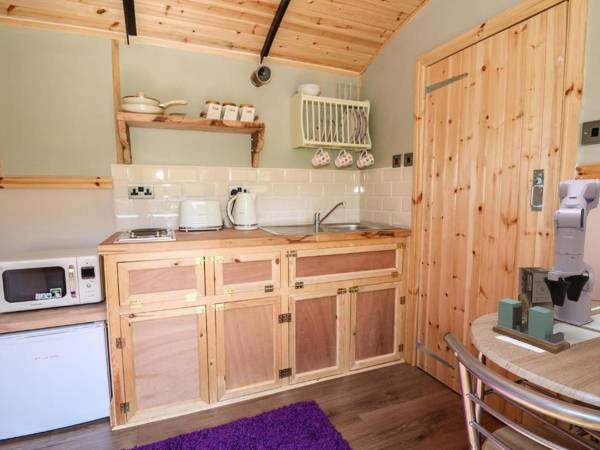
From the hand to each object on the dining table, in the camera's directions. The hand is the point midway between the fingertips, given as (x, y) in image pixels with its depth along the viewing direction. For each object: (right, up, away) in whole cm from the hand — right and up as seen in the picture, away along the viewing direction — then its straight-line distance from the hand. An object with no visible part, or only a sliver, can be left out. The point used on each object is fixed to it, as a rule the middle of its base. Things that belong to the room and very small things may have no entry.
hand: (565, 303), depth 91 cm
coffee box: (+1, -9, +14) cm, 16 cm away
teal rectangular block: (-8, -8, -1) cm, 11 cm away
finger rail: (-9, -10, +1) cm, 14 cm away
